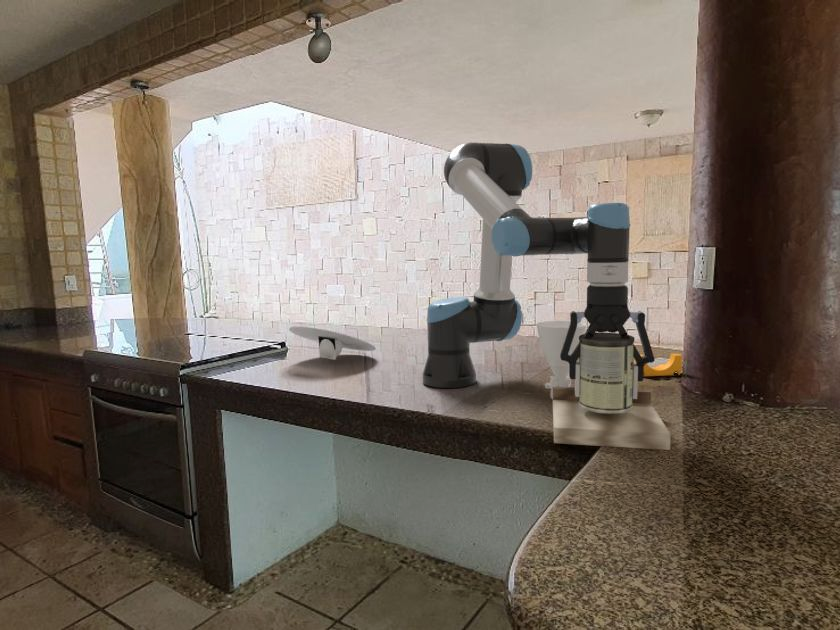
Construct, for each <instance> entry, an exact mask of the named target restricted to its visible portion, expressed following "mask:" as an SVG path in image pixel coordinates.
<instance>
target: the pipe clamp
mask: <svg viewBox="0 0 840 630" xmlns="http://www.w3.org/2000/svg"><path fill="white" fill-rule="evenodd" d="M639 354H640V353H639ZM640 355H641V357H643V356H645V354H642V353H641V354H640ZM633 363H636V361H635V359H634V358H633ZM648 364H649V363H647V364H645V365H644V377H657V376H659V377H660V376H663V377H664V376H675V375H674V374H675V373H674V372H677V373H678V375H677V376H681V375H680V374H681V369H682V370H683V355H682V354H680V353H670V356H669V359H668V361H667V363H661V364H659V365H657V366H649V365H648Z"/></svg>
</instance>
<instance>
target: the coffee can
mask: <svg viewBox="0 0 840 630" xmlns="http://www.w3.org/2000/svg"><path fill="white" fill-rule="evenodd" d="M583 335H584V334H583ZM583 335H580V336H579V343H581V355H580V357H579V358H578V360H579V361H578V362H579V364H580V393H579V406H580V407H581V408H583V409H585V410H588V411H592V412H597V413H606V414H618V413H625V412H629V411H630V410H632V408H633V406H632V394H633V363H634V357H633V344H634V345H635V343H634V342H635V337H634V336H632V335H631V334H628V335H629V337H630V339H623V338H622V337H621V336H620V334H619V332H618V333H616V332H615V333H611V332H595V334H594V335H593V336H592V338H588V339H586V338H584V337H583Z"/></svg>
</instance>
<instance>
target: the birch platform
mask: <svg viewBox="0 0 840 630" xmlns="http://www.w3.org/2000/svg"><path fill="white" fill-rule="evenodd" d="M651 395H652V392H651V390H650V389H648V390H647V389H637V399H633V398H632V406H633V408H632V410H630V411H629V412H625V413H618V414H606V413H597V412H592V411H588V410H585V409H583V408H581V407H580V406H579V397H575V386H574V387H572V386H571V387H553V399H552V425H553V427H552V428H553V444H561V445H562V444H565V445H580V446H597V447H599V446H600V447H612V448H613V447H615V448H617V447H618V448H630V449H631V448H632V449H633V448H634V449H649V450H664V451H665V450H666V451H667V450H669V451H670V450H671V434H672V433H671V432H670V430H669V429H668V428H667V426H666V424H665V423H664V421H663V420H662V419H661V417H660V415H659V414H658V413H657V411H656V409H655V408H654V407H653V405H652V403H651V401H652V396H651Z"/></svg>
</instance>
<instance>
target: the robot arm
mask: <svg viewBox="0 0 840 630" xmlns="http://www.w3.org/2000/svg"><path fill="white" fill-rule="evenodd" d="M443 175H444V180H445V182H446V184H447V185H448V187H449V189H451V191H453V192H454V193H455V194H457V195H459V196H463V198H464V199H465V200H466V201H467V202H468V203H469V205H470V206H471V207H472V208H473V209H474V210H475V212H476V213H477V214H478V215H479V216H480V217H481V218H482V226H481V227H482V229H481V249H480V267H479V268H480V272H479V288H478V289H477V290H475V292H473V300H472V301H470V300H469V298H468V297H466V296H458V297H448V298H441V299H438V300H435V301H432V302H431V303H430V304H428V306H427V315H426V322H427V324H426V325H427V353H428V354H427V358H426V361H425V365H424V368H423V372H422V383H423V384H425V385H426V386H429V387H433V388H441V389H442V388H443V389H445V388H446V389H448V388H449V389H451V388H452V389H453V388H455V389H456V388H464V387H469V386H472V385H474V384H476V382H477V371H476V370H475V369H476V368H475V366H474V363H473V360H472V357H471V354H470V345H471V344H474V343H487V342H501V341H504V340H505V341H506V340H510V339H513V338H514V337H515V336H516V335H517V334H518V332H519V331H520V329H521V327H522V321H523V311H522V307H521V304H520V302H519V301H518V300H516V295H515V293H514V292H513V291H512V290H511V282H512V281H511V280H512V267H513V266H512V265H513V264H512V263H513V261H512V260H513V257H522V256H542V255H546V256H547V255H549V256H550V255H580V254H582V255H583V254H586V255H587V263H586V264H587V265H586V282H587V283H588V284H589V285H588V286H587V287H586V307H585V309H584V311H575V310H572V311H571V312H570V314H569V317H570V321H571V323H570V326H569V329H568V332H567V335H566V338H565V341H564V345H563V348H562V351H561V354H560V358H561V360H563V361H567V362H568V363H569V376H570V379H571V380H574V388H575V397H579V393H580V364H579V361H578V360H579V357H580V355H581V343H578V345H577V346H576V348H575V350H574V351H573V353H572V354H571V355H568V353H569V350H570V347H571V344H572V341H573V337H574V334H575V331H576V328H577V323H580V322H581V323H582V320H583V318H585V319H586V321H587V322H588V323H589V325H588V327H586V330H585V334H584V335H583V337H584V338H586V339H588V338H592V336H593V335H594V334H595V333H616V332H618V333H619V334H620V336H621V337H622V338H623V339H630V337H629V335H630V334H628V332H627V331H626V328H625V327H624V325H625V324H626V322H627V321H628V320H629V319H630V318H631V321H632V322H633V323H634V324H635V326H636V330H637V333H638V336H639V340H640V344H641V347H642V350H643V355H644V356H643V357H641V355H642V354H641V355H640V352H639V351H638V349H637V346H635V343H634V344H633V360H634V359H635V361H636V363H634V362H633V394H632V398H633V399H637V390H638V383H639V382H643V381H644V378H645V376H644V365H645V364H650V363H654V362H655V356H654V353H653V349H652V346H651V343H650V338H649V336H648V331H647V330H646V326H645V323H646V314H645V313H644V312H642V311H630V310H629V308H628V307H629V306H628V305H629V304H628V303H629V302H628V301H629V287H628V286H627V285H625V284H627V283H628V282H629V257H630V256H629V254H630V252H629V251H630V229H631V228H630V227H631V221H630V207H629V206H628V204H626V203H624V202H603V203H595V204H593V203H592V204H591V205H589V206H588V208H587V209H588V210H587V215H586V216H582V217H581V216H579V217H532V216H530V214H528V213H527V212H526V211H525V209H523V208H522V207H521V206H520V205H519V204H518V203H517V202H518V201H520V199H521V198H522V196H523V195H522V194H523V191H524V190H526V189H527V188H528V187H529V186H530V184H531V181H532V179H533V162H532V158H531V155H530V154H529V153H528V150H527V149H526V148H525V147H524V146H521V145H518V144H513V143H512V144H511V143H489V142H487V143H486V142H466V143H463V144H460V145H459V146H457V147H456V148H454V149H453V150H452V151H451V152H450V153H449V155H448V156H447V158H446V160H445V163H444V166H443Z"/></svg>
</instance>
